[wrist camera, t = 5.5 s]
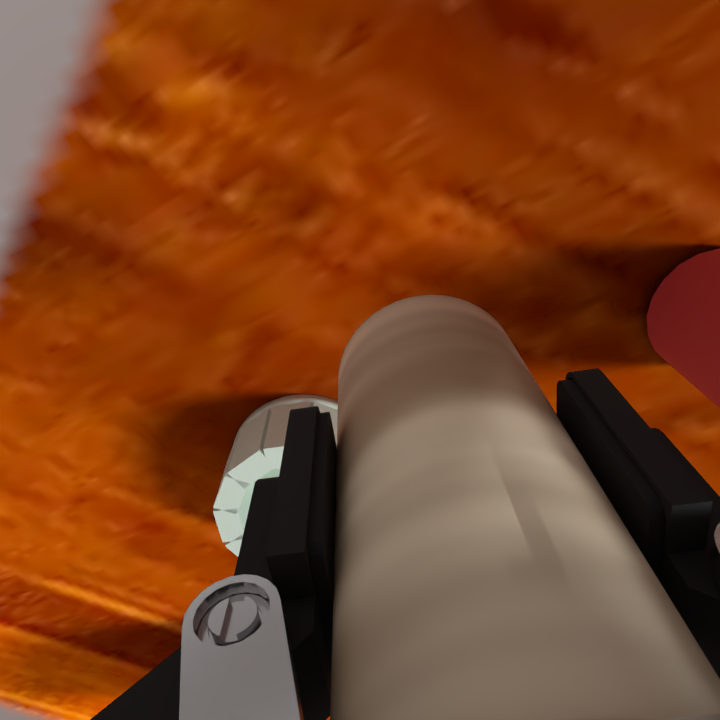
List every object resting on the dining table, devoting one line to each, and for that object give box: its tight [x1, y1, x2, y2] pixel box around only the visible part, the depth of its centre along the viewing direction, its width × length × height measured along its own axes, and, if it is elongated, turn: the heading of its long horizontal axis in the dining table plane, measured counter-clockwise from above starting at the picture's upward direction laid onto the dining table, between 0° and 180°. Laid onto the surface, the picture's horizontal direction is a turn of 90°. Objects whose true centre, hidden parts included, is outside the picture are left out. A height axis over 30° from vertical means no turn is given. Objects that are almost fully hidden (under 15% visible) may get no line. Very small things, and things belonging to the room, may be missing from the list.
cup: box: [213, 394, 338, 557], centre depth 32 cm, size 8×8×5 cm
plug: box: [330, 295, 720, 720], centre depth 10 cm, size 4×4×10 cm
